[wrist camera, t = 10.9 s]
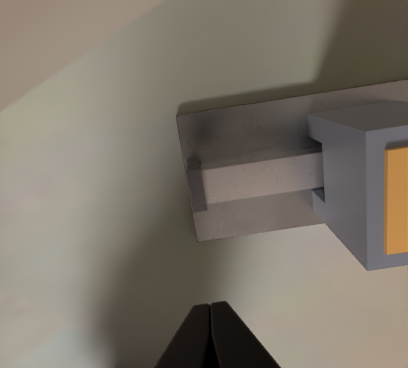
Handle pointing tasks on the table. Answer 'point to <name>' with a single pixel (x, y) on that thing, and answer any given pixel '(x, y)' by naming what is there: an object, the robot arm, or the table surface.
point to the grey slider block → (365, 180)
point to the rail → (263, 139)
